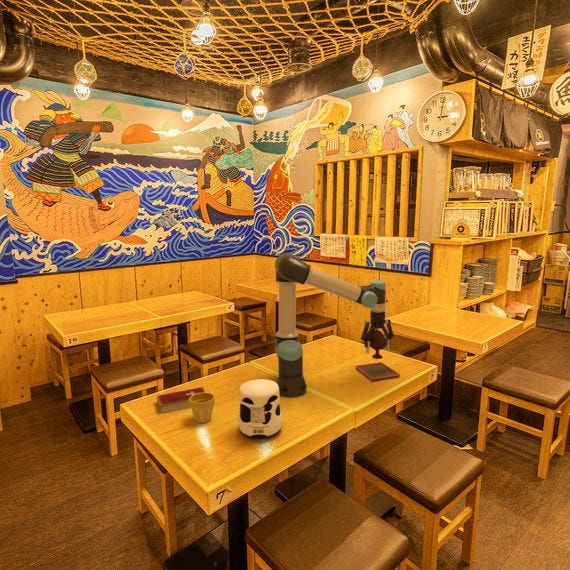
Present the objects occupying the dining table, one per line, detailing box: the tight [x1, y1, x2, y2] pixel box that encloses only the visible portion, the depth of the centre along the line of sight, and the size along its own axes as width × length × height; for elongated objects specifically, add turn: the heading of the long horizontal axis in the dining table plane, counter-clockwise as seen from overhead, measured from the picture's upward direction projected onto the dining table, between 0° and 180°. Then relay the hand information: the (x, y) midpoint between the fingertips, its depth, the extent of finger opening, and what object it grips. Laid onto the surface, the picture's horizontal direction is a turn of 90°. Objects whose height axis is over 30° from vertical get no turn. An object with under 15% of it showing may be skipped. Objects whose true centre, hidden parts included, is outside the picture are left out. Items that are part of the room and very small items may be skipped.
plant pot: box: [189, 391, 216, 424], centre depth 165 cm, size 10×10×10 cm
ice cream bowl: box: [369, 329, 388, 360], centre depth 206 cm, size 11×11×15 cm
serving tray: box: [355, 361, 401, 383], centre depth 209 cm, size 16×18×2 cm
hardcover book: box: [156, 386, 206, 414], centre depth 180 cm, size 12×21×4 cm, turn 113°
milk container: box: [237, 378, 283, 439], centre depth 155 cm, size 17×17×18 cm
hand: (377, 351), depth 207 cm, fingers closed on ice cream bowl, 11 cm apart
